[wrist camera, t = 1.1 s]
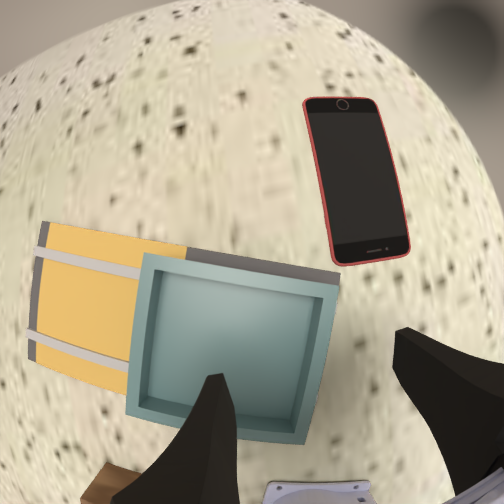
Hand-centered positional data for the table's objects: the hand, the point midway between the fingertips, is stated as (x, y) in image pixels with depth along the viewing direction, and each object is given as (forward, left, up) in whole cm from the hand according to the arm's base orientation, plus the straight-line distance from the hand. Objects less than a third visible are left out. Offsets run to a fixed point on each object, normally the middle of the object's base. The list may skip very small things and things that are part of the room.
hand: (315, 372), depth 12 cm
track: (+9, +1, -10) cm, 13 cm away
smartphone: (-4, -13, -11) cm, 17 cm away
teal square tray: (+4, +1, -9) cm, 10 cm away
